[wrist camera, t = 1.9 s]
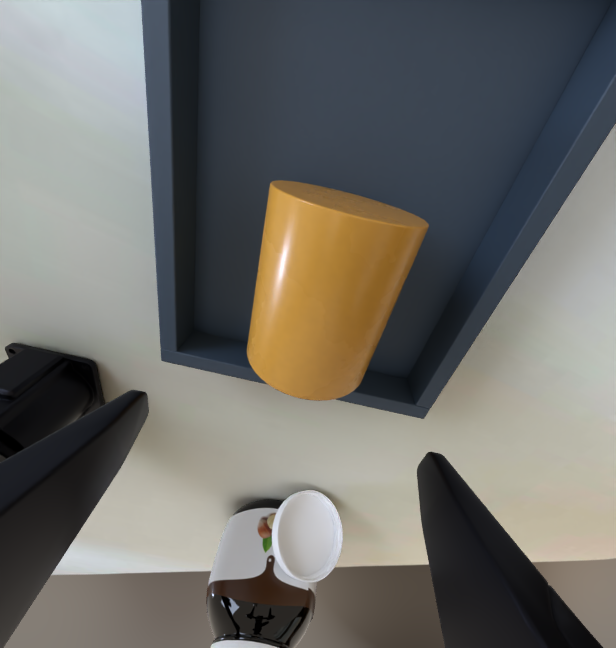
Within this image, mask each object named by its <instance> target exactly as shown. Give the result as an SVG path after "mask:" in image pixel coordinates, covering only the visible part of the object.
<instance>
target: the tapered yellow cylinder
mask: <svg viewBox="0 0 616 648" xmlns="http://www.w3.org/2000/svg"><path fill="white" fill-rule="evenodd" d="M428 228H429V224H428V223H427V222H426V221H425V220H423V219H422V218H420V217H418V216H416V215H414V214H412V213H409V212H407V211H404V210H402V209H399V208H396V207H394V206H391V205H388V204H385V203H382V202H379V201H375V200H372V199H369V198H366V197H362V196H359V195H355V194H351V193H347V192H344V191H340V190H335V189H331V188H327V187H322V186H318V185H312V184H307V183H301V182H294V181H283V180H278V181H272V182H271V183H270V187H269V195H268V202H267V209H266V216H265V223H264V230H263V237H262V244H261V252H260V259H259V266H258V273H257V280H256V287H255V294H254V302H253V309H252V316H251V323H250V330H249V337H248V344H247V357H248V360H249V363H250V365H251V367H252V368H253V370H254V371H255V373H256V374H257V375H258V376H259V377H260V378H261V379H262V380H263V381H265V382H266V383H267V384H269V385H270V386H272V387H273V388H275V389H277V390H279V391H281V392H283V393H285V394H288V395H291V396H294V397H298V398H302V399H307V400H318V401H320V400H332V399H337V398H340V397H343V396H345V395H348V394H349V393H351V392H352V391H354V390H355V389H356V388H357V387H358V386H359V384H360V383H361V381H362V379H363V377H364V374H365V372H366V370H367V367H368V365H369V363H370V361H371V358H372V356H373V354H374V351H375V349H376V347H377V345H378V342H379V340H380V338H381V335H382V333H383V331H384V328H385V326H386V324H387V322H388V319H389V317H390V315H391V312H392V310H393V308H394V306H395V303H396V301H397V299H398V296H399V294H400V292H401V290H402V287H403V285H404V283H405V280H406V278H407V276H408V273H409V271H410V269H411V267H412V264H413V262H414V260H415V257H416V255H417V253H418V251H419V248H420V246H421V244H422V241H423V239H424V237H425V235H426V232H427V230H428Z"/></svg>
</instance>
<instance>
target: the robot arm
mask: <svg viewBox="0 0 616 648" xmlns="http://www.w3.org/2000/svg"><path fill="white" fill-rule="evenodd" d="M5 350H6V353H7V355H8V358H9V359H8V360H6V361H4V362H3V363H1V364H0V648H4V646H5V644H6V643H7V641H8V640H9V638H10V637H11V635H12V634H13V632H14V631H15V629H16V628H17V626H18V625H19V623H20V621H21V620H22V618H23V617H24V615H25V614H26V612H27V611H28V609H29V608H30V606H31V605H32V603H33V601H34V600H35V599H36V597H37V595H38V594H39V592H40V591H41V589H42V588H43V586H44V585H45V583H46V582H47V580H48V578H49V577H50V576H51V574H52V572H53V571H54V569H55V568H56V566H57V565H58V563H59V562H60V560H61V559H62V557H63V556H64V554H65V553H66V551H67V549H68V548H69V546H70V545H71V543H72V542H73V540H74V539H75V537H76V536H77V534H78V533H79V531H80V530H81V528H82V526H83V525H84V523H85V522H86V520H87V519H88V517H89V516H90V514H91V513H92V511H93V510H94V508H95V507H96V505H97V503H98V502H99V500H100V499H101V497H102V496H103V494H104V493H105V491H106V490H107V488H108V487H109V485H110V484H111V482H112V480H113V479H114V477H115V476H116V474H117V473H118V471H119V469H120V468H121V466H122V464H123V463H124V461H125V459H126V457H127V455H128V453H129V451H130V449H131V447H132V446H133V444H134V442H135V440H136V438H137V436H138V434H139V432H140V430H141V428H142V426H143V424H144V422H145V420H146V418H147V416H148V413H149V407H148V398H147V394H146V392H143V391H138V390H131V391H128V392H127V393H125V394H123V395H121V396H119V397H118V398H116V399H114V400H112V401H110V402H108V403H107V404H105V405H104V400H103V395H102V391H101V386H100V381H99V376H98V372H97V367H96V364H95V363H94V362H93V361H92V360H89V359H85V358H81V357H76V356H72V355H67V354H62V353H58V352H53V351H49V350H44V349H40V348H35V347H31V346H26V345H21V344H17V343H11V344H10V345H8V346H6V347H5ZM417 479H418V490H419V501H420V512H421V521H422V528H423V534H424V539H425V544H426V550H427V555H428V560H429V566H430V571H431V576H432V581H433V587H434V592H435V597H436V602H437V607H438V613H439V618H440V623H441V628H442V633H443V639H444V644H445V648H603V647H602V646H601V645H600V643H599V642H598V641H597V640H596V639H595V638H594V637H593V635H592V634H590V632H589V631H588V630H587V629H586V627H585V626H584V625H583V624H582V623H581V621H580V620H579V619H578V618H577V617H576V616H575V614H574V613H573V612H572V611H571V610H570V608H569V607H568V606H567V605H566V604H565V603H564V601H563V600H562V599H561V598H560V596H559V595H558V594H557V593H556V592H555V591H554V589H553V588H552V587H551V586H550V585H548V582H547V581H546V580H545V578H544V577H543V576H542V575H541V574H540V572H539V571H538V570H537V569H536V567H535V566H534V565H533V564H532V563H531V561H530V560H529V559H528V558H527V556H526V555H525V554H524V553H523V552H522V550H521V549H520V548H519V547H518V546H517V544H516V543H515V542H514V541H513V539H512V538H511V537H510V536H509V535H508V533H507V532H506V531H505V530H504V529H503V527H502V526H501V525H500V524H499V522H498V521H497V520H496V519H495V518H494V516H493V515H492V514H491V513H490V512H489V510H488V509H487V508H486V507H485V505H484V504H483V503H482V502H481V501H480V499H479V498H478V497H477V496H476V495H475V493H474V492H473V491H472V490H471V488H470V487H469V486H468V485H467V484H466V482H465V481H464V480H463V479H462V478H461V476H460V475H459V474H458V473H457V471H456V470H455V469H454V468H453V467H452V465H451V464H450V463H449V462H448V460H447V459H446V458H445V457H444V456H443V455H442V454H439V453H434V452H428V453H427V454H426V456H425V457H424V458H423V460H422V461H421V463H420V464H419V466H418V468H417Z"/></svg>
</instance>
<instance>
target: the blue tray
mask: <svg viewBox="0 0 616 648" xmlns="http://www.w3.org/2000/svg"><path fill="white" fill-rule="evenodd" d="M141 6H142V24H143V42H144V60H145V77H146V95H147V113H148V131H149V148H150V166H151V184H152V202H153V220H154V237H155V255H156V273H157V291H158V308H159V326H160V344H161V360H162V361H165V362H169V363H174V364H178V365H183V366H187V367H192V368H196V369H201V370H205V371H210V372H214V373H219V374H223V375H228V376H232V377H237V378H241V379H246V380H250V381H255V382H259V383H264V384H267V383H266V382H265V381H263V380H262V379H261V378H260V377H259V376H258V375H257V374H256V373H255V371H254V370H253V368H252V367H251V365H250V363H249V360H248V357H247V344H248V337H249V330H250V323H251V316H252V309H253V302H254V294H255V287H256V280H257V273H258V266H259V259H260V252H261V244H262V237H263V230H264V223H265V216H266V209H267V202H268V195H269V187H270V183H271V182H272V181H278V180H283V181H294V182H301V183H307V184H312V185H318V186H322V187H327V188H331V189H335V190H340V191H344V192H347V193H351V194H355V195H359V196H362V197H366V198H369V199H372V200H375V201H379V202H382V203H385V204H388V205H391V206H394V207H396V208H399V209H402V210H404V211H407V212H409V213H412V214H414V215H416V216H418V217H420V218H422V219H423V220H425V221H426V222H427V223H428V224H429V228H428V230H427V232H426V235H425V237H424V239H423V241H422V244H421V246H420V248H419V251H418V253H417V255H416V257H415V260H414V262H413V264H412V267H411V269H410V271H409V273H408V276H407V278H406V280H405V283H404V285H403V287H402V290H401V292H400V294H399V296H398V299H397V301H396V303H395V306H394V308H393V310H392V312H391V315H390V317H389V319H388V322H387V324H386V326H385V328H384V331H383V333H382V335H381V338H380V340H379V342H378V345H377V347H376V349H375V351H374V354H373V356H372V358H371V361H370V363H369V365H368V367H367V370H366V372H365V374H364V377H363V379H362V381H361V383H360V384H359V386H358V387H357V388H356V389H355V390H354V391H352V392H351V393H349V394H348V395H345V396H343V397H340V398H337V399H336V400H340V401H345V402H349V403H354V404H358V405H363V406H367V407H372V408H376V409H381V410H385V411H390V412H394V413H399V414H403V415H408V416H412V417H417V418H421V419H424V417H425V416H426V414H427V413H428V411H429V409H430V408H431V407H432V405H433V404H434V402H435V400H436V399H437V397H438V396H439V394H440V393H441V391H442V390H443V388H444V387H445V385H446V384H447V382H448V380H449V379H450V377H451V376H452V374H453V373H454V371H455V370H456V368H457V367H458V365H459V364H460V362H461V360H462V359H463V357H464V356H465V354H466V353H467V351H468V350H469V348H470V347H471V345H472V343H473V342H474V340H475V339H476V337H477V336H478V334H479V333H480V331H481V330H482V328H483V327H484V325H485V323H486V322H487V320H488V319H489V317H490V316H491V314H492V313H493V311H494V310H495V308H496V307H497V305H498V303H499V302H500V300H501V299H502V297H503V296H504V294H505V293H506V291H507V290H508V288H509V286H510V285H511V283H512V282H513V280H514V279H515V277H516V276H517V274H518V273H519V271H520V270H521V268H522V266H523V265H524V263H525V262H526V260H527V259H528V257H529V256H530V254H531V253H532V251H533V250H534V248H535V246H536V245H537V243H538V242H539V240H540V239H541V237H542V236H543V234H544V233H545V231H546V229H547V228H548V226H549V225H550V223H551V222H552V220H553V219H554V217H555V216H556V214H557V213H558V211H559V209H560V208H561V206H562V205H563V203H564V202H565V200H566V199H567V197H568V196H569V194H570V193H571V191H572V189H573V188H574V186H575V185H576V183H577V182H578V180H579V179H580V177H581V176H582V174H583V173H584V171H585V169H586V168H587V166H588V165H589V163H590V162H591V160H592V159H593V157H594V156H595V154H596V152H597V151H598V149H599V148H600V146H601V145H602V143H603V142H604V140H605V139H606V137H607V136H608V134H609V132H610V131H611V129H612V128H613V126H614V125H615V123H616V0H141ZM268 385H269V384H268Z"/></svg>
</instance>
